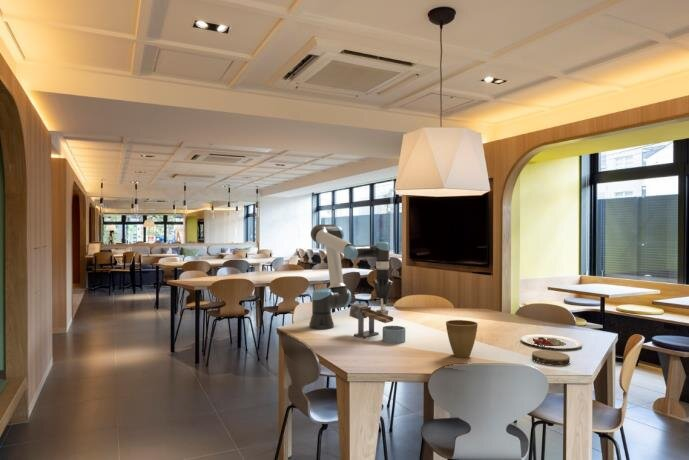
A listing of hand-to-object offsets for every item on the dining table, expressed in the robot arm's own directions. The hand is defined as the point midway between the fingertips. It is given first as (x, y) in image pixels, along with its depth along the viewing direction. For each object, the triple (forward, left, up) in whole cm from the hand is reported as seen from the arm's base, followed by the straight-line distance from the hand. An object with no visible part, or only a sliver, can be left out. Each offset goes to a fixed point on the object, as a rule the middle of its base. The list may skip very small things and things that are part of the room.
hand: (383, 309), depth 261 cm
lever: (-4, -4, -6) cm, 8 cm away
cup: (+12, -7, -15) cm, 20 cm away
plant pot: (+53, -10, -15) cm, 56 cm away
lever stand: (-7, -7, -15) cm, 18 cm away
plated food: (+79, +44, -15) cm, 91 cm away
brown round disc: (+88, +10, -15) cm, 90 cm away
